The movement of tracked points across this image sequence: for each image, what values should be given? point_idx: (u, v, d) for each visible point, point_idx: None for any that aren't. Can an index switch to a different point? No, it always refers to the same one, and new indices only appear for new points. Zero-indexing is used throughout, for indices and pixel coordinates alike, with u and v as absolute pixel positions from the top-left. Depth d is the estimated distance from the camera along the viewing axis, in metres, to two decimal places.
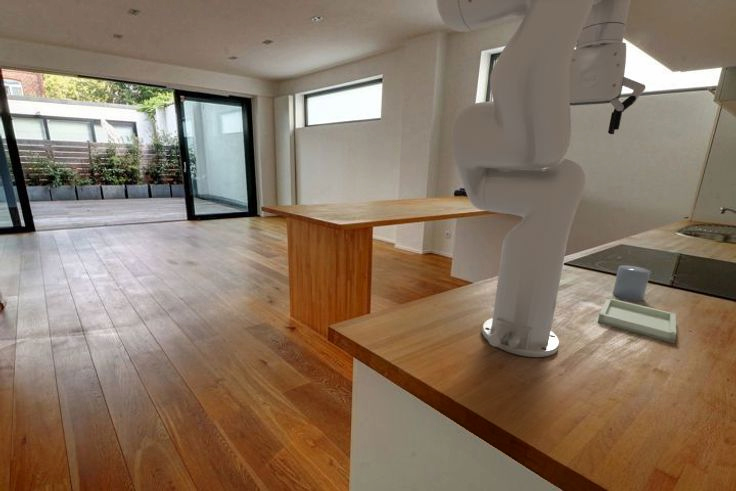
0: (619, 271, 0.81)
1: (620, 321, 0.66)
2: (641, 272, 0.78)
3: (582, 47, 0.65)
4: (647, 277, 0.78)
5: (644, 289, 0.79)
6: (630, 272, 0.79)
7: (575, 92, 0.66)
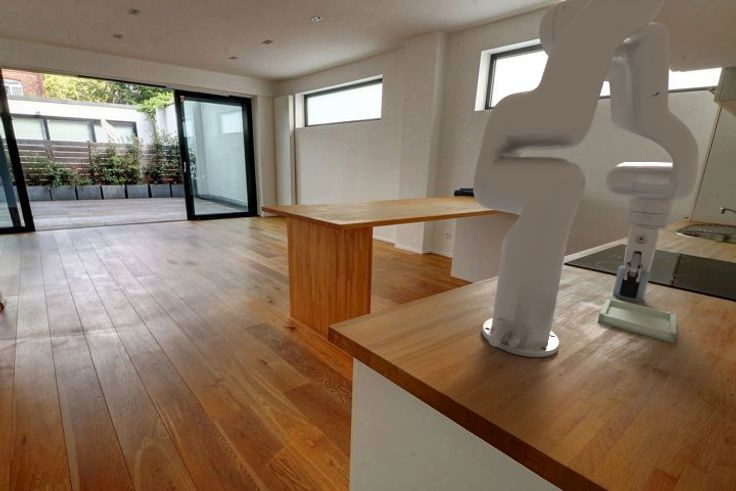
0: (619, 271, 0.81)
1: (620, 321, 0.66)
2: (641, 272, 0.78)
3: (660, 228, 0.74)
4: (647, 277, 0.78)
5: (644, 289, 0.79)
6: None
7: (651, 263, 0.76)
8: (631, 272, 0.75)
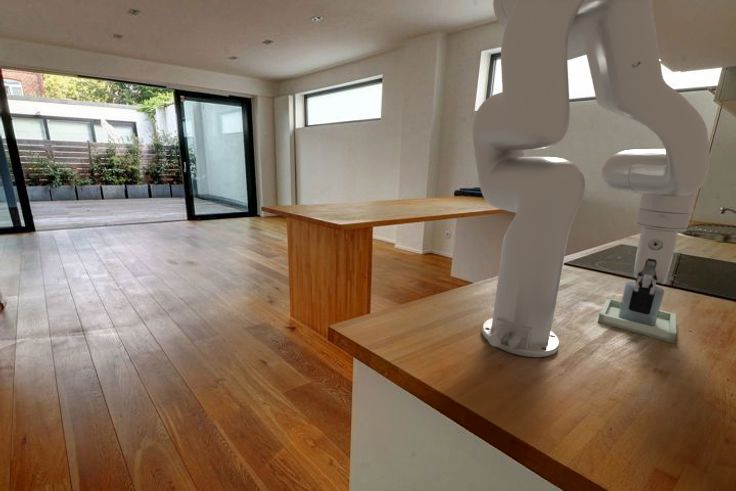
0: (626, 289, 0.68)
1: (620, 321, 0.66)
2: None
3: (679, 231, 0.60)
4: (661, 297, 0.64)
5: (657, 311, 0.65)
6: None
7: None
8: (645, 279, 0.60)
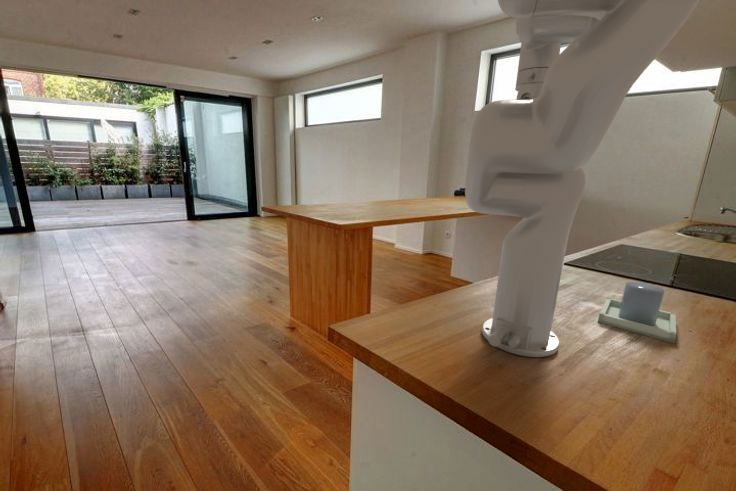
0: (626, 289, 0.67)
1: (620, 321, 0.66)
2: (653, 291, 0.64)
3: None
4: (661, 297, 0.64)
5: (657, 312, 0.65)
6: (640, 291, 0.65)
7: None
8: None
